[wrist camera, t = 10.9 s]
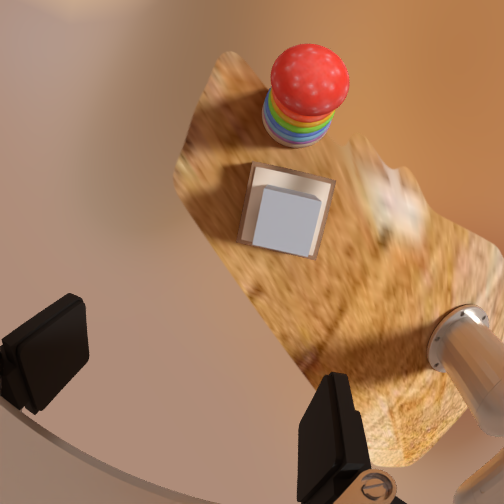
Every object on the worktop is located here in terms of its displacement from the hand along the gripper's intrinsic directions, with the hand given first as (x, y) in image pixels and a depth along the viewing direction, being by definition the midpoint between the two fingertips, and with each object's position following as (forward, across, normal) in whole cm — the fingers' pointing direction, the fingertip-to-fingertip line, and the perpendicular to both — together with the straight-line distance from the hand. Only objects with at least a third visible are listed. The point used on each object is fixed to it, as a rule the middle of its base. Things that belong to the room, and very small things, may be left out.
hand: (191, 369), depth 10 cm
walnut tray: (+27, -2, -3) cm, 27 cm away
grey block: (+23, -2, -3) cm, 23 cm away
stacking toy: (+27, -1, -14) cm, 31 cm away
